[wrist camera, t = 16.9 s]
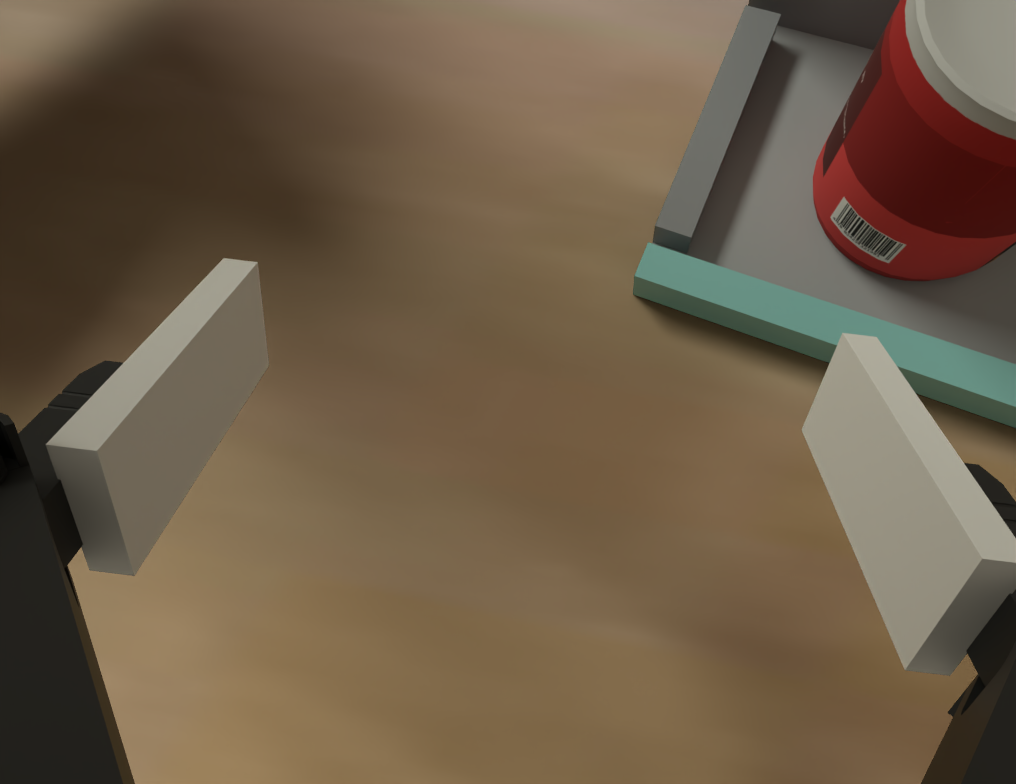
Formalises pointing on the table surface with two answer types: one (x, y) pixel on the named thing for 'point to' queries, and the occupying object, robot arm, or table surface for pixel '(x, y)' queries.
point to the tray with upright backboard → (813, 220)
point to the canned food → (927, 145)
